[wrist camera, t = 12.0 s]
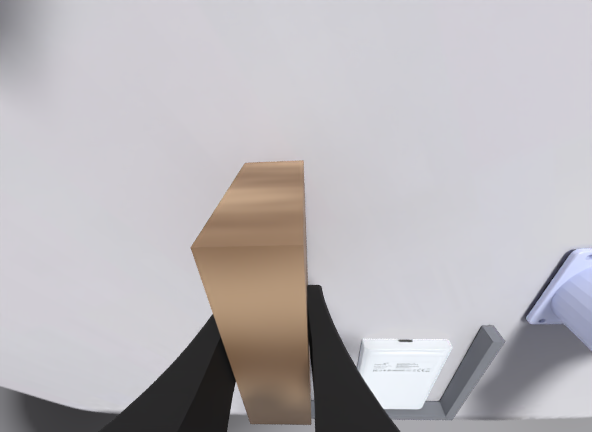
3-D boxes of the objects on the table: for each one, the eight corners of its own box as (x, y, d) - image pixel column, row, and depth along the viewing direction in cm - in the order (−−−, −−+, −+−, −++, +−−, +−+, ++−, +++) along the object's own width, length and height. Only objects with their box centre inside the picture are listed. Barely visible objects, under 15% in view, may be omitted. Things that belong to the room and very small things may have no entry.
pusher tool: (308, 306, 18) (311, 424, 12) (268, 306, 18) (250, 423, 12) (303, 160, 12) (303, 244, 6) (244, 163, 12) (190, 247, 6)
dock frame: (493, 325, 22) (505, 341, 21) (445, 405, 30) (452, 420, 29) (294, 326, 23) (293, 342, 22) (301, 403, 31) (300, 418, 30)
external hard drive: (350, 393, 31) (361, 333, 24) (417, 393, 30) (446, 334, 24) (353, 408, 29) (364, 350, 23) (423, 409, 29) (455, 350, 22)
